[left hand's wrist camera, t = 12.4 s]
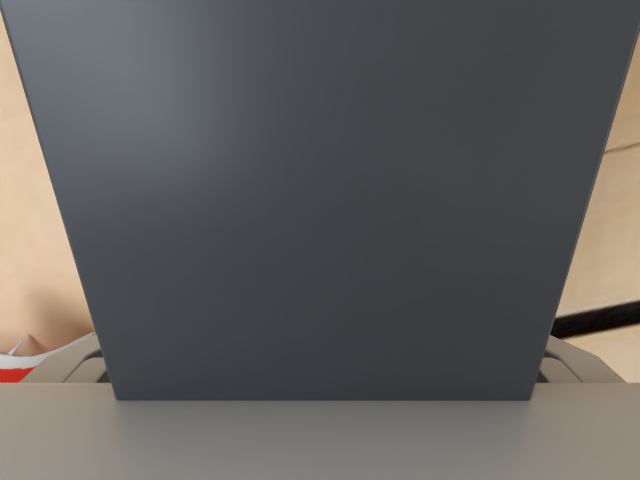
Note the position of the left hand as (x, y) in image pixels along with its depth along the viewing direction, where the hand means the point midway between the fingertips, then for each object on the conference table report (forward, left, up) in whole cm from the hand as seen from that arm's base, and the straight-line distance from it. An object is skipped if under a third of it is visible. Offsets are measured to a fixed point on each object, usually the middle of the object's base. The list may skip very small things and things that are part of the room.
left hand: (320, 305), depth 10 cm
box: (-8, +6, -4) cm, 11 cm away
